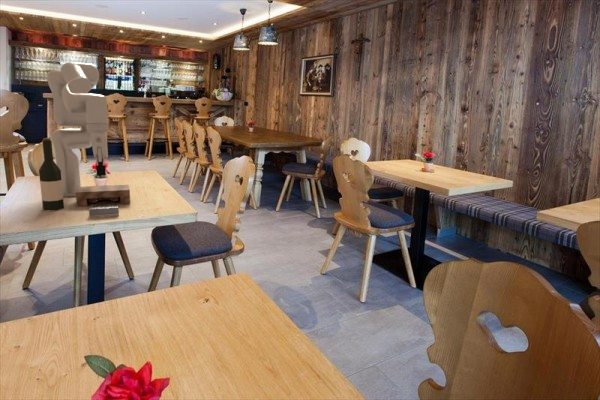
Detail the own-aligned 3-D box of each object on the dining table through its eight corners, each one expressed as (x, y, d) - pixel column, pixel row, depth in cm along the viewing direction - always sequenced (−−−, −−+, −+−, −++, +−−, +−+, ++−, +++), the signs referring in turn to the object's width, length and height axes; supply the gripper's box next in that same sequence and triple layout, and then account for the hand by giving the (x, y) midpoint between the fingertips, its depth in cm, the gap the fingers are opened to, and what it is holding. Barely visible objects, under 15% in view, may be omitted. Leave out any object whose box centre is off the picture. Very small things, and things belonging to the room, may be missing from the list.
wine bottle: (49, 211, 184) (41, 140, 177) (38, 208, 188) (30, 138, 181) (68, 208, 191) (62, 138, 184) (57, 204, 195) (51, 137, 188)
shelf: (76, 206, 193) (75, 192, 191) (78, 200, 204) (77, 186, 202) (130, 203, 202) (129, 189, 200) (128, 197, 212) (128, 184, 211)
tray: (89, 219, 178) (89, 209, 177) (90, 209, 192) (89, 200, 191) (119, 216, 182) (118, 207, 182) (117, 207, 197) (117, 198, 196)
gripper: (108, 129, 162) (112, 178, 166) (108, 126, 175) (111, 171, 180) (86, 129, 159) (90, 179, 163) (87, 126, 173) (91, 172, 177)
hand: (101, 175), depth 172 cm, fingers closed
